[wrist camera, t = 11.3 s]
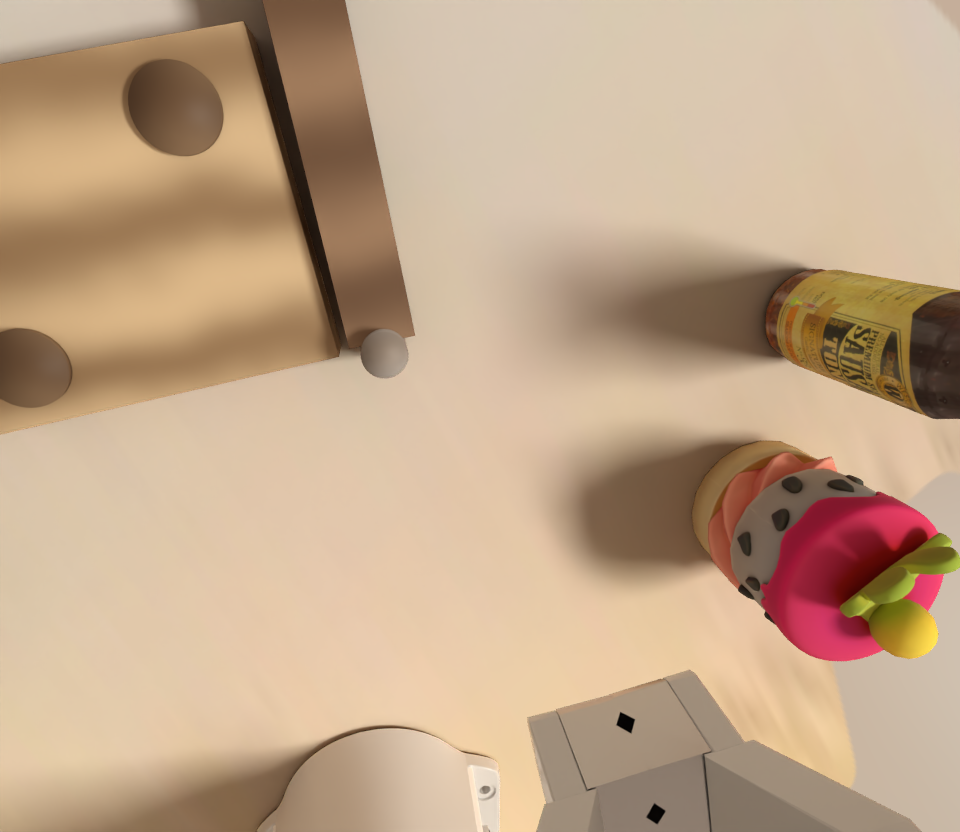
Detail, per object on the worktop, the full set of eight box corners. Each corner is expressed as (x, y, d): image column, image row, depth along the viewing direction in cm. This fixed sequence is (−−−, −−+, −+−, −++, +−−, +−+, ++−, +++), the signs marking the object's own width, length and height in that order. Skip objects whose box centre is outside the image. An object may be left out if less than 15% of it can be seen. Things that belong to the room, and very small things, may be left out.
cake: (844, 504, 46) (1051, 632, 32) (732, 592, 47) (887, 754, 33) (779, 406, 43) (980, 502, 29) (659, 503, 43) (797, 643, 29)
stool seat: (341, 345, 36) (338, 358, 33) (24, 417, 35) (-11, 438, 31) (255, 38, 31) (241, 18, 28) (-126, 106, 29) (-187, 94, 26)
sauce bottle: (742, 306, 40) (1068, 391, 21) (823, 246, 39) (1227, 279, 21) (784, 383, 42) (1112, 520, 23) (860, 327, 42) (1255, 421, 23)
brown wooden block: (416, 350, 37) (422, 370, 32) (358, 362, 36) (356, 384, 32) (332, -50, 30) (324, -98, 25) (259, -40, 30) (238, -87, 25)
